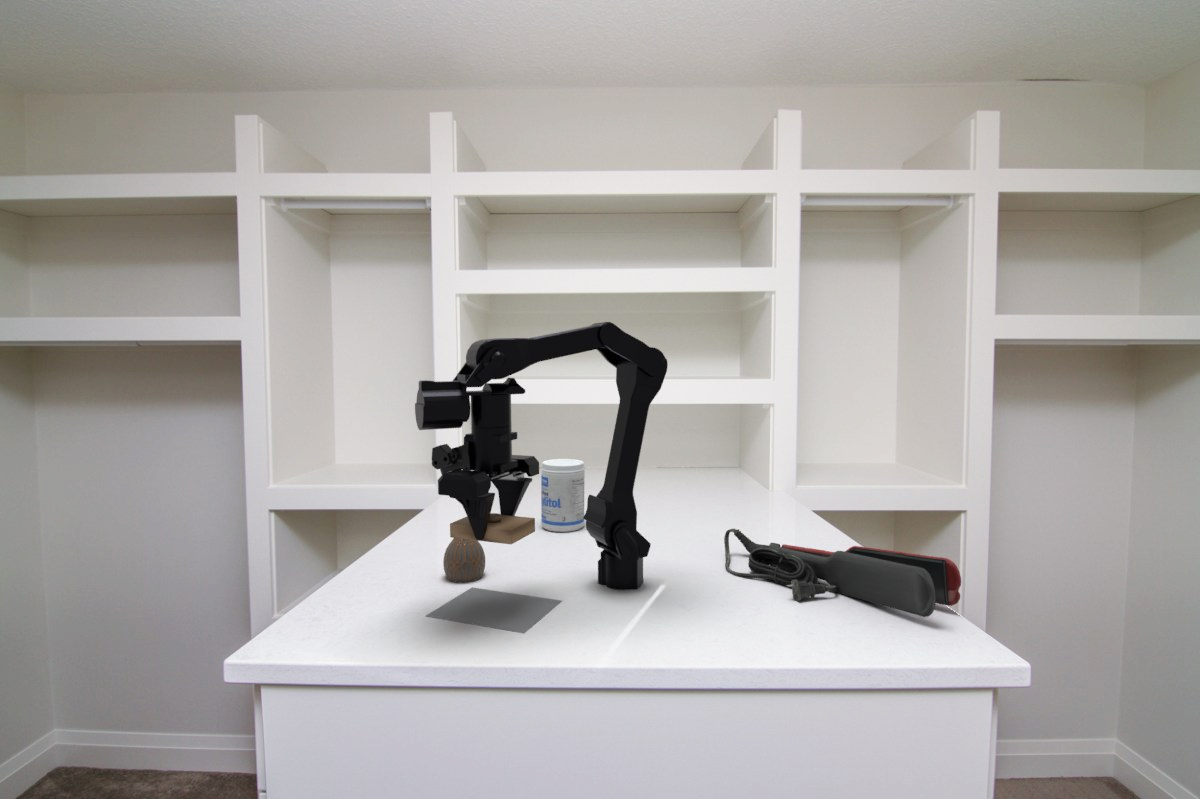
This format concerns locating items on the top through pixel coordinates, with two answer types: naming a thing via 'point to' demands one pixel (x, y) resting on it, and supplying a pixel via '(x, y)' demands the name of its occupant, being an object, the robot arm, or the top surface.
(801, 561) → the hair straightener
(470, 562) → the vase
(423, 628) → the top surface
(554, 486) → the supplement tub
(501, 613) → the mat
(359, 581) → the top surface
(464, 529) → the lid
